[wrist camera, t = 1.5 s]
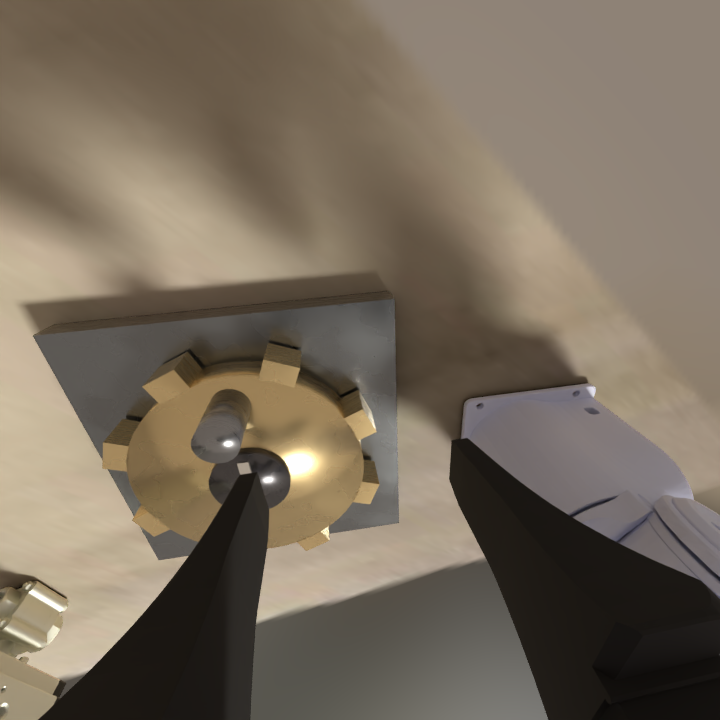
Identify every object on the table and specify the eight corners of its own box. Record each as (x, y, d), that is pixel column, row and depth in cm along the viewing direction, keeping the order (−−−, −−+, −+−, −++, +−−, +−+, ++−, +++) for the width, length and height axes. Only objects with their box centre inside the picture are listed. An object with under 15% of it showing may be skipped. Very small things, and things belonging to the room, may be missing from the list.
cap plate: (388, 291, 19) (394, 298, 18) (394, 506, 28) (398, 522, 26) (53, 324, 18) (32, 335, 16) (166, 541, 26) (158, 560, 25)
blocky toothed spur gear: (377, 514, 25) (391, 583, 21) (173, 545, 24) (142, 626, 20) (366, 332, 18) (383, 377, 14) (80, 363, 17) (-1, 424, 13)
